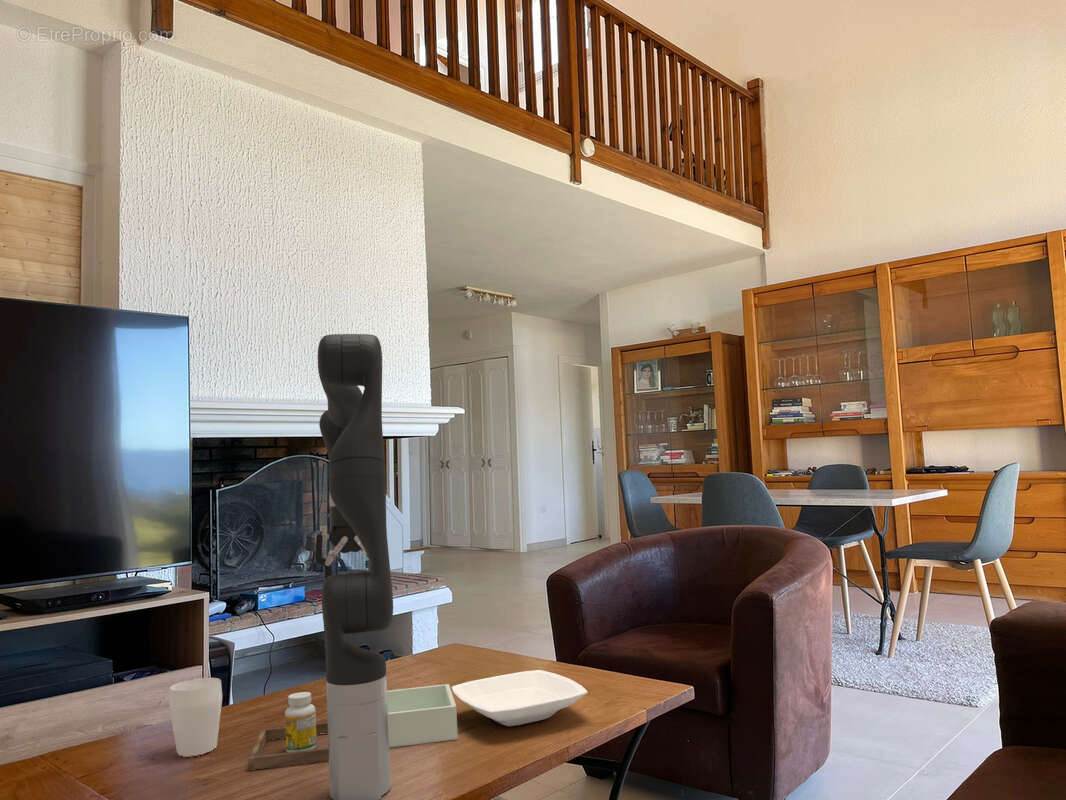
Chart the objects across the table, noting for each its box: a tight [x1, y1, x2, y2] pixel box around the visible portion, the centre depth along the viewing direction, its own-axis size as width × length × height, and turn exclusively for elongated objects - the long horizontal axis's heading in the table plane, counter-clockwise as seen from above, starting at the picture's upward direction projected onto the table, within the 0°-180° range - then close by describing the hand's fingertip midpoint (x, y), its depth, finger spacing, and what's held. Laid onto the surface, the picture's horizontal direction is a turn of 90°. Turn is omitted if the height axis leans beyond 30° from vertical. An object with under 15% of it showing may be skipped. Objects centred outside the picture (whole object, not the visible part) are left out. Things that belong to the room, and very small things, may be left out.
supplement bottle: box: [284, 691, 318, 753], centre depth 142 cm, size 5×5×10 cm
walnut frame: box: [248, 721, 329, 771], centre depth 142 cm, size 16×16×2 cm
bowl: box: [451, 669, 589, 727], centre depth 153 cm, size 22×23×6 cm
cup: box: [168, 677, 223, 756], centre depth 144 cm, size 9×9×12 cm
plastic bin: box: [387, 683, 459, 749], centre depth 149 cm, size 16×16×6 cm
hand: (350, 581), depth 163 cm, fingers open, 8 cm apart
